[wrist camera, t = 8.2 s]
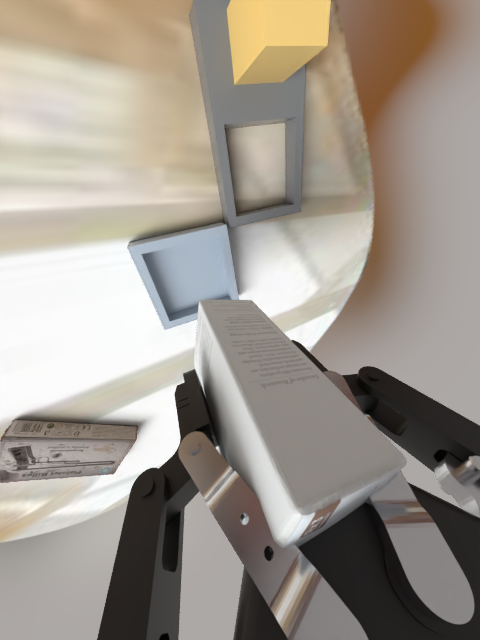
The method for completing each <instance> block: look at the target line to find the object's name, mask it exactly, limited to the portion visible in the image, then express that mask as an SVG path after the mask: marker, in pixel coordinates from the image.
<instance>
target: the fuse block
mask: <svg viewBox="0 0 480 640" xmlns="http://www.w3.org/2000/svg"><path fill="white" fill-rule="evenodd" d="M330 3H331V0H193V3H192V7H191V11H190V22H191V28H192V34H193V40H194V46H195V52H196V58H197V63H198V69H199V75H200V81H201V87H202V93H203V99H204V105H205V111H206V117H207V123H208V129H209V135H210V141H211V146H212V152H213V158H214V164H215V170H216V176H217V182H218V188H219V194H220V200H221V206H222V212H223V218H224V224H226V225H227V227H229V228H231V227H236V226H240V225H245V224H249V223H253V222H258V221H262V220H266V219H271V218H275V217H279V216H284V215H288V214H292V213H297V212H301V192H302V161H303V129H304V98H305V66H306V63H307V62H308V61H309V60H311V59H312V58H313V57H314V56H315V55H317V54H318V53H319V52H320V51H322V50H323V49H324V48H325V47H326V46H328V32H329V18H330ZM276 123H285V143H286V204H282V205H277V206H273V207H268V208H264V209H259V210H254V211H250V212H245V213H240V214H236V210H235V202H234V195H233V188H232V180H231V173H230V165H229V158H228V150H227V143H226V136H225V129H230V128H239V127H249V126H258V125H267V124H276Z"/></svg>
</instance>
